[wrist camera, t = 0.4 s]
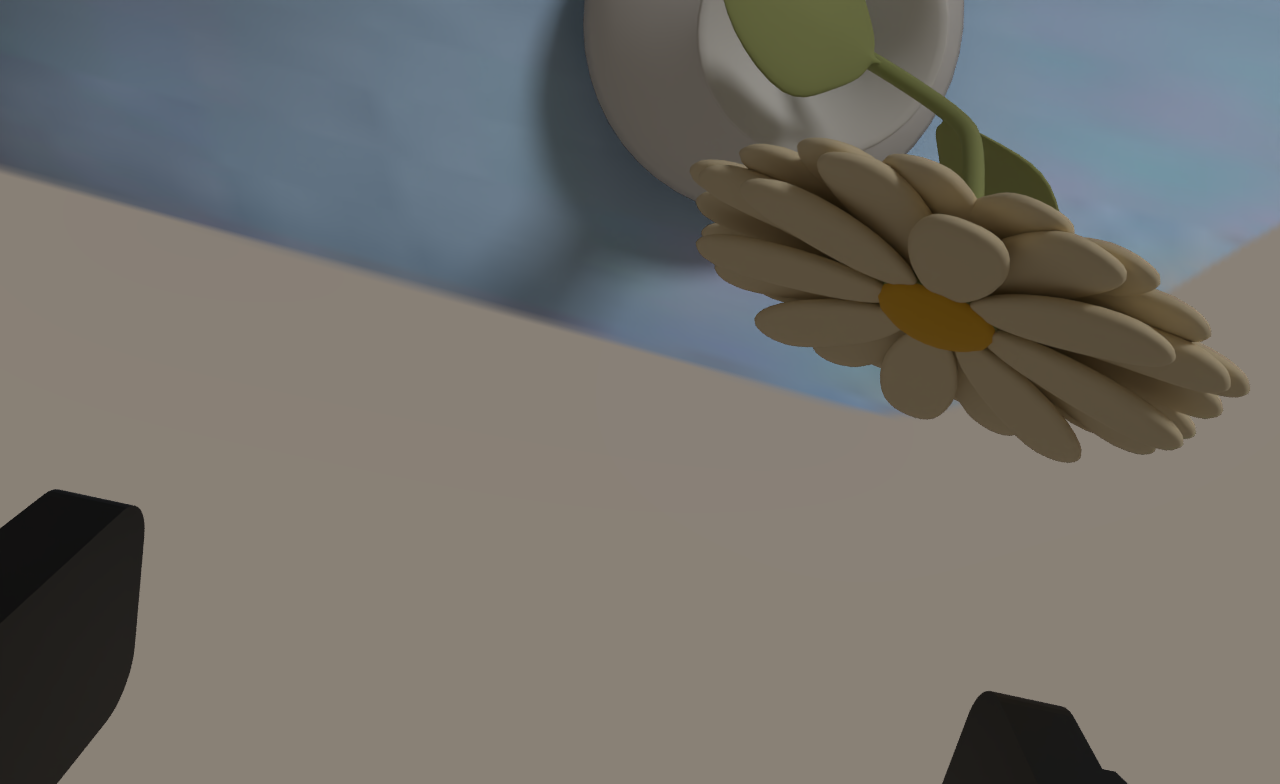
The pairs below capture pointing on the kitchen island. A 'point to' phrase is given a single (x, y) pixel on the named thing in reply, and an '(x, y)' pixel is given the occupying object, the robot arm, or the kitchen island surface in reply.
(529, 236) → the kitchen island surface
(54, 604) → the robot arm
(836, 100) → the flower in vase
